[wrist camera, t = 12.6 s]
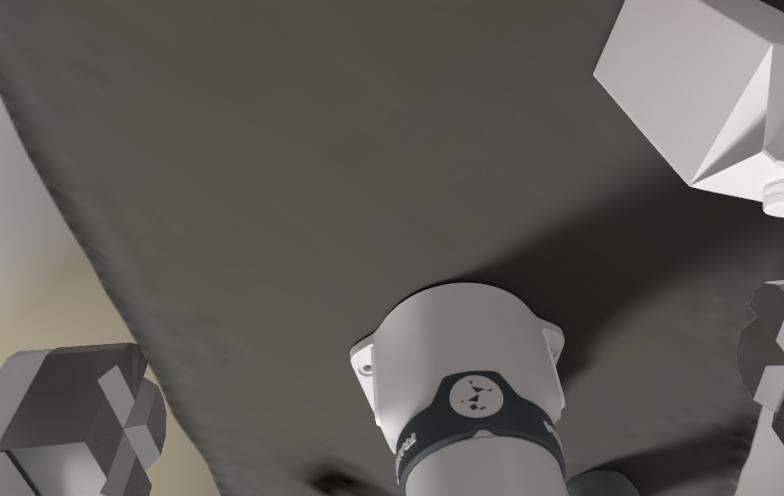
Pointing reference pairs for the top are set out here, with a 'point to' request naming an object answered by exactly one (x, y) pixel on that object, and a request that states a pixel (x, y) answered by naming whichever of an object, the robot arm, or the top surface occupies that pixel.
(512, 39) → the top surface
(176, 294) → the top surface
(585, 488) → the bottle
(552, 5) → the top surface
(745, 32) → the milk carton
